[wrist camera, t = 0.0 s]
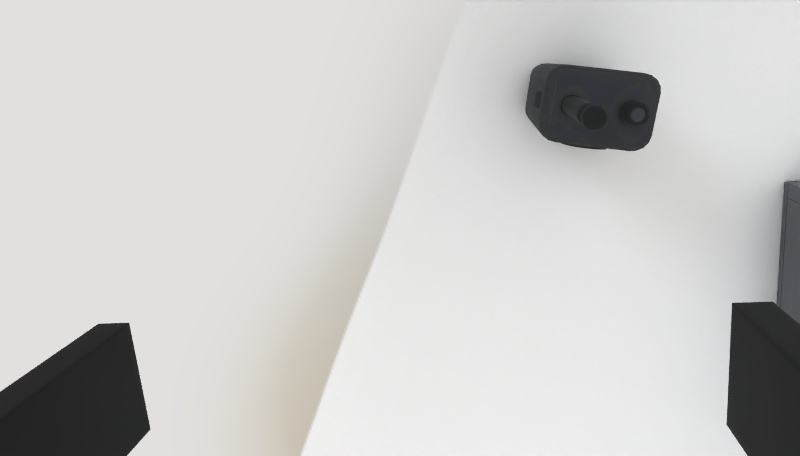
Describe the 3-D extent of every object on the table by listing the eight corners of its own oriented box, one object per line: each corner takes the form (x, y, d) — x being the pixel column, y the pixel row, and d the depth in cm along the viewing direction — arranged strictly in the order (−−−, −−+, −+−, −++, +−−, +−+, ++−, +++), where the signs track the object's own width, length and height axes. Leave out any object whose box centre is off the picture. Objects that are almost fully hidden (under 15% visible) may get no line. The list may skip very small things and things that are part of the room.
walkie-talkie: (618, 71, 34) (718, 79, 20) (606, 134, 35) (693, 186, 21) (528, 61, 35) (560, 62, 20) (518, 124, 36) (543, 167, 21)
